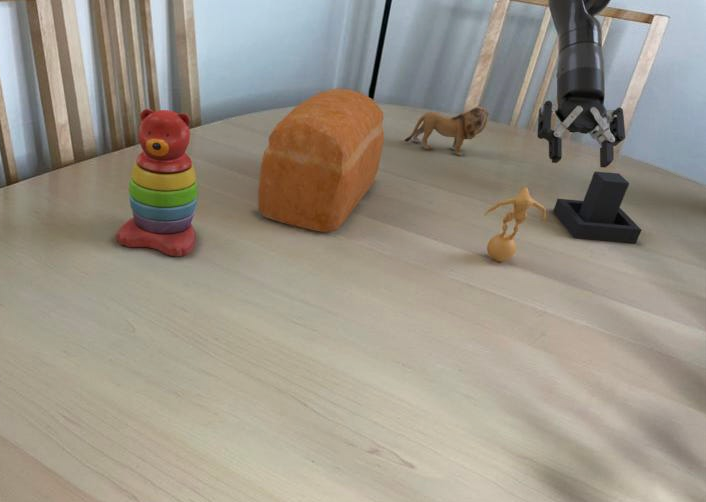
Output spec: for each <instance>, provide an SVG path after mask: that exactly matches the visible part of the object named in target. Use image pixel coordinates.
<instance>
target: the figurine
mask: <svg viewBox="0 0 706 502" xmlns="http://www.w3.org/2000/svg"><path fill="white" fill-rule="evenodd" d="M511 204H513V212H512V211H510V210H509V211H507V213H506V215H505V216H504V217H503V218H502V228H501V229H502V232H501V233H498V234H495V235H493V236H492V237H491V238H490V239H489V241H488V243H487V245H486V250H487V254H488V256H489V257H490V258H491V259H492V260H494V261H496V262H508V261H509V260H511V259H512V258H513V257H514V255H515V254H516V252H517V243H516V240H515V237H516V235H517V233H518V232H519V230H520V226H519V225H520V224H522V223H524V222H525V220H527V217H528V214H527V213H526V212H527V211H528V210H529V209H530V208H531V207H534V208H537V209H538V210H541V216H542V217H540V219H541V220H540V221H541V222H542V223H543V224H545V222H546V220H547V213H546V211H547V210H546V209H547V208H545V206H544V205H543V204H541V203H539V202H538V201H536V199H534V198H532V196H531V195H530V191H529V189H528V187H522V189H521V190H520V192H519V194H518V195H517V196H515V197H512V198H510V199H509V198H508V199H505V200H502V201H500V202H497V203H496V204H495V205H493V206H491V207H490V208H488V209H487V211H485V213H484V216H486V215H488V213H490V212H493V211H495V210H496V209H497V208H499V207H500V206H506V205H511ZM513 220H514V221H515V224H514V227H513V232H512V233H511V234H507V231H508V224H507V223H510V222H512V221H513Z"/></svg>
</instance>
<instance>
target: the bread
mask: <svg viewBox="0 0 706 502" xmlns="http://www.w3.org/2000/svg"><path fill="white" fill-rule="evenodd" d="M384 117H385V116H384V112H383V111H382V109H381V108H380V107H379V105H378V104H377V103H376V102H375V100H374V99H373V98H371V97H369V96H368V95H365V94H364V93H362V92H360V91H358V90H353V89H344V88H334V89H333V88H332V89H329V90H324V91H321V92H318V93H316V94H314V95H313V96H311V97H309V98H307V99H306V100H304V101H302V102H301V103H299V104H298V105H297V106H295V107H294V108H293V109H291V111H290V112H289V113H288V114H287V115H286V116H285V117H283V119H281V120H280V121H279V122H278V123H277V124H276V125H275V126H274V128H273V130H272V131H271V133H270V135H269V137H268V146H267V147H266V149H265V150H264V151H263V156H262V160H261V164H260V170H259V171H260V172H259V181H258V189H257V193H258V195H257V196H258V197H257V199H258V200H257V201H258V202H257V203H258V205H257V207H258V211H259V213H260V214H261V216H262V217H264V218H266V219H269V220H273V221H275V222H279V223H283V224H287V225H290V226H294V227H299V228H302V229H307V230H311V231H312V230H313V231H316V232H321V233H326V232H332V231H336V230H338V228H339V227H341V225H343V224H344V223H345V221H346V220H347V219H348V217H350V214H352V212H353V211H354V209H355V208H356V206H357V205H358V204H359V203H360V201H361V200H362V199H363V197H365V195H366V193H367V192H369V190H370V189H371V187H372V185H373V184H374V183H375V180H376V177H377V174H378V172H379V171H378V170H379V166H380V162H381V158H382V157H381V156H382V152H383V147H384V144H385V143H384V142H385V132H384V129H383V128H384V127H383V123H384Z"/></svg>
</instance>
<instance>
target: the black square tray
mask: <svg viewBox="0 0 706 502" xmlns="http://www.w3.org/2000/svg"><path fill="white" fill-rule="evenodd" d="M583 201H584V200H579V199H566V198H557V199H556V202H555V204H554V207H553V210H552V213H554V215H555V216H556V217H557V219H558V220H559V221H560V222H561V224H562V225H563V226H564V227H565V229H566V230H567V231H568V233H570V235H571V236H572V237H573V238H574V239H582V240H593V241H603V242H604V241H605V242H617V243H628V244H637V241H638V239H639V237H640V235H641V232H642V228H640V227H639V225H638V224H637V223H635V221H634V220H633V219H632V218H631V217H630V216H629V215H628V214H627V213H626V212H625V211H624V210H623V209H622V208H621V207H620V208H619V210H618V212H617V215H616V217H615V220H614V222H613V224H603V223H592V222H584V221H583V220H582V219H581V218H580V217H579V216H578V214H579V212H580V209H581V206H582V204H583Z"/></svg>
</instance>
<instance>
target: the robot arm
mask: <svg viewBox="0 0 706 502" xmlns="http://www.w3.org/2000/svg"><path fill="white" fill-rule="evenodd" d="M547 2H548V8H549V12H550V15H551V18H552V22H553V25H554V28H555V31H556V34H557V37H558V40H557V41H558V42H557V43H558V45H557V46H558V48H557V51H558V57H557V58H558V60H557V65H556V103H557V104H553V102H552V101H551V100H546V101H545V102H544V103H543V104H542V105H541V106H540V107H539V109H538V119H537V138H538V139H539V140H542V139H543V140H546V141H547V142H548V158H549V160H551V163H552V164H557V163H559V162H560V161H561V160H562V158H563V157H562V156H563V148H562V147H563V143H562V142H563V139H562V137H561V136H562V135H563V133H565V131H566V130H567V131H568V132H569V133H579V134H583V135H587V134H589V136H590V137H591V138H592V139H593V140H596V141H597V143H598V144H599V145H600V148H599V166H600V168H603V169H604V168H605V169H606V168H607V167H608V166H610V165H611V163H613V161H614V159H615V156H614V155H615V154H614V151H615V150H614V147H617V145H619V144H620V143H621V142H622V141H624V140H625V139H626V128H625V116H624V109H623V108H622V107H617V108H615V109H607V108H606V107H605V98H606V97H605V96H606V94H605V91H606V89H605V59H604V53H603V30H602V29H603V28H602V24H601V21H599V19H598V18H597V17H596V16H597V15H599V14H601V13H602V12H603V11H604V10H605V9H606V8H607V6H609V4H610V2H611V0H547ZM554 114H555V116H556V117H557V119H558V120H559V121H560V123H559V124H558V125H557V127H556V128H555V129H554V130H553V129H552V116H553V115H554ZM605 119H606V121H605ZM597 127H598V130H597Z"/></svg>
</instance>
